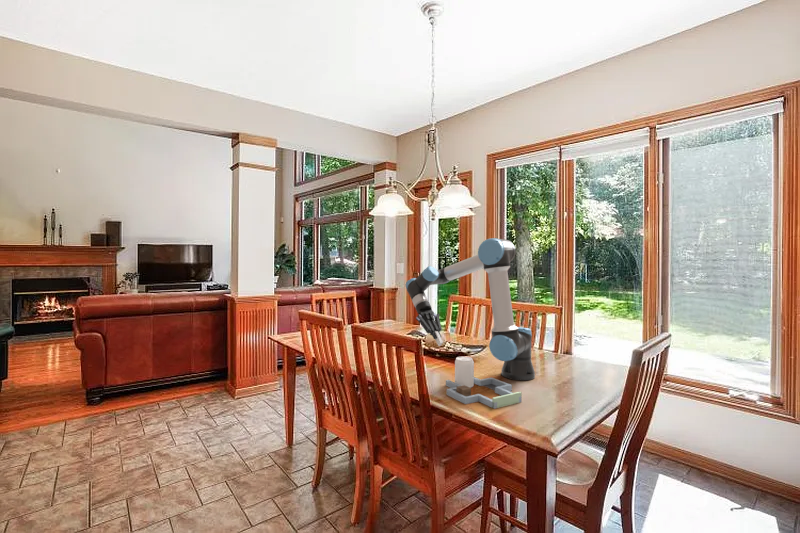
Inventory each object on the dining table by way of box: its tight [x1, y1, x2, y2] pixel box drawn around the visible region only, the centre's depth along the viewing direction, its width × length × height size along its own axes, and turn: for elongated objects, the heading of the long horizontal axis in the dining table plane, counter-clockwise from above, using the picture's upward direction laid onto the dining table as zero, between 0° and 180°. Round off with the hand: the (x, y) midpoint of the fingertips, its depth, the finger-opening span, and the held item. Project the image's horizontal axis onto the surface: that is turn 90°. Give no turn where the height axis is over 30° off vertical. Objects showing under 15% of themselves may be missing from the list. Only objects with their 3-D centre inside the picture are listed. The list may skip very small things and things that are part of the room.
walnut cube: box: [457, 385, 472, 396], centre depth 156 cm, size 4×4×4 cm
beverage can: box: [454, 356, 475, 388], centre depth 170 cm, size 8×8×12 cm
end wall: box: [491, 391, 523, 409], centre depth 148 cm, size 1×14×4 cm, turn 120°
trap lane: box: [445, 376, 522, 409], centre depth 161 cm, size 30×27×2 cm
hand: (440, 344), depth 185 cm, fingers closed
